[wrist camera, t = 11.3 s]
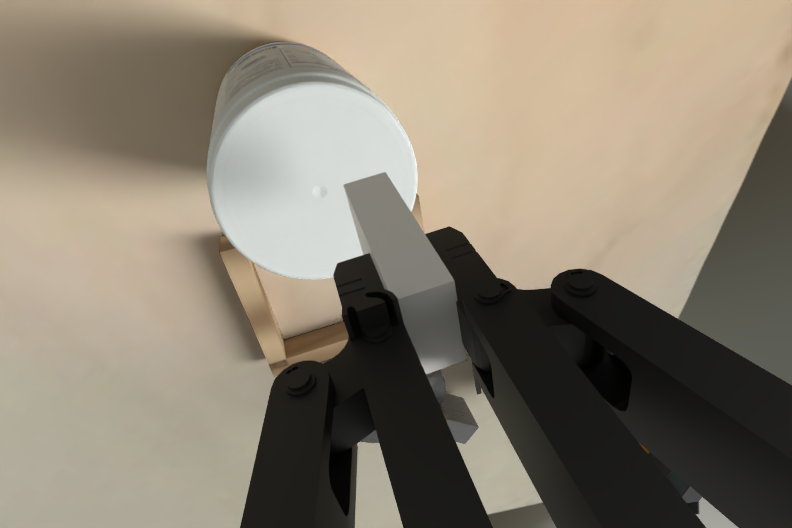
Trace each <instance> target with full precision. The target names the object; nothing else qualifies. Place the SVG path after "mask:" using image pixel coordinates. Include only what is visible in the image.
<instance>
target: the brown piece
mask: <svg viewBox="0 0 792 528" xmlns="http://www.w3.org/2000/svg"><path fill="white" fill-rule="evenodd" d="M411 213H412V214H413V216H414V218H415V219H416V221H417V222H418V224H419V225H420V227H421V229H422V230H423V232H424V227H423V221H422V215H421V208H420V202H419V196H418V195H417V194H416V198H415V203H414V206H413V209H412V212H411ZM219 253H220V255H221V257H222V260H223V262H224V264H225V266H226V269H227V271H228V273H229V275H230V278H231V280H232V282H233V285H234V287H235V289H236V291H237V294H238V296H239V298H240V300H241V303H242V305H243V307H244V309H245V312H246V314H247V316H248V319H249V321H250V323H251V325H252V328H253V330H254V332H255V334H256V337H257V339H258V341H259V344H260V346H261V348H262V350H263V353H264V355H265V357H266V359H267V362H268V364H269V366H270V368H271V371H272V373H273V375H274V377H275V376H278V375H279V374H280V373H281V372H282V371H283V370H284V369H285V368H287V367H289V366H290V365H292V364H294V363H297V362H301V361H309V360H314V361H317V362H321V361H325V360H328V359H331V358H334V357H335V356H336V355H338V354H339V353H340V352H341V350H342V349H343V348H344V347H345V345H346V343H347V341H348V337H349V335H348V332H347V329H346V327H345V324H344V321H343V322H340V323H337V324H334V325H331V326H327V327H324V328H321V329H318V330H315V331H311V332H308V333H305V334H302V335H299V336H296V337H292V338H289V339H286V340H284V339H283V337H282V334H281V332H280V329H279V327H278V324H277V322H276V319H275V317H274V314H273V312H272V309H271V307H270V304H269V302H268V299H267V297H266V294H265V292H264V289H263V287H262V284H261V282H260V279H259V277H258V274H257V272H256V269H255V267H254V264H253V262H251V261H250V260H249V259H247V258H246V257H244V256H243V255H242V254H241V253H240V252H239V251H238V250H237V249H236V248H235V247H234V246H233V245H232V244H231V243H230V241H229V240H228V239H227V237H226V236H221V237H220V252H219Z"/></svg>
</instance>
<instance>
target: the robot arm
mask: <svg viewBox="0 0 792 528" xmlns="http://www.w3.org/2000/svg"><path fill="white" fill-rule="evenodd" d="M343 186H344V189H345V193H346V196H347V200H348V203H349V207H350V210H351V214H352V217H353V221H354V224H355V228H356V231H357V235H358V238H359V242H360V245H361V249H362V252H363V254H364V255H362V256H358V257H355V258H352V259H349V260H346V261H343V262H340V263H337V265H336V268H335V271H334V274H333V276H334V280H335V283H336V287H337V290H338V294H339V298H340V301H341V305H342V318H343V321H344V324H345V327H346V329H347V332H348V335H349V337H348V341H347V343H346V345H345V347H344V348H343V349H342V350H341V352H340V353H339V354H338V355H336V356H335V357H334V358H332V359H331V360H329V361H328V362H326V363H325V364H322V363H319V362H317V361H314V360H309V361H301V362H297V363H294V364H292V365H290V366H289V367H287V368H285V369H284V370H283V371H282V372H281V373H280V374H279V375H278V376H277V377H276V378H275V380H274V383H273V385H272V387H271V392H270V396H269V400H268V405H267V409H266V414H265V418H264V423H263V427H262V432H261V436H260V441H259V445H258V450H257V454H256V459H255V463H254V468H253V472H252V477H251V481H250V486H249V490H248V495H247V499H246V504H245V508H244V513H243V517H242V522H241V526H240V528H355V502H356V476H357V450H358V447H357V443H358V442H360V441H361V440H362V439H364V438H365V437H367V436H368V435H369V434H371V433H372V432H373V431H375V430H376V432H377V436H378V439H379V443H380V446H381V450H382V454H383V457H384V461H385V464H386V468H387V471H388V475H389V478H390V482H391V485H392V489H393V492H394V496H395V499H396V503H397V506H398V510H399V514H400V517H401V521H402V524H403V528H493V527H492V525H491V523H490V520H489V518H488V516H487V513H486V511H485V509H484V506H483V504H482V502H481V500H480V497H479V495H478V493H477V490H476V488H475V486H474V483H473V481H472V479H471V477H470V474H469V472H468V470H467V467H466V465H465V463H464V460H463V458H462V456H461V454H460V451H459V449H458V447H457V444H456V442H455V440H454V438H453V435H452V433H451V431H450V428H449V426H448V424H447V421H446V419H445V417H444V415H443V412H442V410H441V408H440V405H439V403H438V401H437V398H436V396H435V394H434V392H433V389H432V387H431V385H430V382H429V380H428V378H427V376H426V374H429V373H432V372H434V371H437V370H440V369H443V368H446V367H449V366H452V365H455V364H457V363H460V362H463V361H466V360H467V358H466V352H465V348H466V350H467V352H468V354H469V356H470V357H471V359H472V366H473V372H474V379H475V386H476V391H477V395H478V394H481V388H482V390H483V392H484V394H485V395H486V397H487V399H488V401H489V403H490V405H491V407H492V408H493V410H494V412H495V414H496V416H497V418H498V420H499V421H500V423H501V425H502V427H503V429H504V431H505V433H506V434H507V436H508V438H509V440H510V442H511V444H512V446H513V447H514V449H515V451H516V453H517V455H518V457H519V459H520V460H521V462H522V464H523V466H524V468H525V470H526V472H527V474H528V475H529V477H530V479H531V481H532V483H533V485H534V487H535V488H536V490H537V492H538V494H539V496H540V498H541V500H542V501H543V503H544V505H545V507H546V508H547V511H548V513H549V514H550V516H551V518H552V520H553V522H554V524H555V526H556V527H557V528H706V527H705V526H704V524H703V523H702V522H701V521H700V519H699V518H698V517H697V516H696V514H695V513H694V512H693V511H692V509H691V508H690V507H689V506H688V504H687V503H686V502H685V500H684V499H683V498H682V497H681V495H680V494H679V493H678V492H677V490H676V489H675V488H674V487H673V485H672V484H671V483H670V482H669V480H668V479H667V478H666V477H665V475H664V474H663V473H662V471H661V470H660V469H659V468H658V466H657V465H656V464H655V463H654V461H653V460H652V459H651V458H650V456H649V455H648V454H647V453H646V451H645V450H644V449H643V447H645V448H646V449H647V450H648V451H649V452H650V453H652V454H653V455H654V456H655V457H656V458H657V459H659V460H660V461H661V462H662V463H663V464H664V465H666V466H667V467H668V468H669V469H670V470H672V471H673V472H674V473H675V474H676V475H677V476H679V477H680V478H681V479H682V480H683V481H684V482H686V483H687V484H688V485H689V486H690V487H692V488H693V489H694V490H695V491H696V492H697V493H699V494H700V495H701V496H702V497H703V498H705V499H706V500H707V501H708V502H709V503H710V504H712V505H713V506H714V507H715V508H716V509H717V510H719V511H720V512H721V513H722V514H723V515H724V516H726V517H727V518H728V519H729V520H730V521H732V522H733V523H734V524H735V525H736V526H737V527H739V528H792V385H790V384H788V383H786V382H785V381H783V380H782V379H780V378H778V377H776V376H775V375H773V374H771V373H770V372H768V371H766V370H764V369H763V368H761V367H759V366H758V365H756V364H754V363H752V362H751V361H749V360H747V359H746V358H744V357H742V356H740V355H739V354H737V353H735V352H734V351H732V350H730V349H728V348H726V347H725V346H723V345H722V344H720V343H718V342H716V341H715V340H713V339H711V338H710V337H708V336H706V335H704V334H703V333H701V332H699V331H698V330H696V329H694V328H692V327H691V326H689V325H687V324H686V323H684V322H682V321H680V320H679V319H677V318H675V317H674V316H672V315H670V314H668V313H667V312H665V311H663V310H662V309H660V308H658V307H657V306H655V305H653V304H651V303H650V302H648V301H646V300H645V299H643V298H641V297H639V296H638V295H636V294H634V293H633V292H631V291H629V290H627V289H626V288H624V287H622V286H621V285H619V284H617V283H615V282H614V281H612V280H610V279H609V278H607V277H605V276H603V275H602V274H599V273H597V272H594V271H592V270H586V269H573V270H567V271H565V272H562V273H560V274H558V275H557V276H556V277H555V278H554V279H553V281H552V284H551V288H548V289H537V290H520V289H516V287H515V286H514V285H512V284H511V283H510V282H509V281H506V280H503V279H500V278H497V277H496V276H495V275H494V274H493V272H492V271H491V270H490V268H489V267H488V266H487V264H486V263H485V262H484V260H483V259H482V258H481V257H480V255H479V254H478V253H477V252H476V251H475V249H474V247H473V246H472V245H471V244H470V242H469V241H468V240H467V238H466V237H465V236H464V234H463V233H462V232H460V231H458V230H456V229H454V228H452V227H446V228H443V229H440V230H437V231H434V232H431V233H427V234H425V233H424V232H423V230H422V229H421V227H420V225H419V224H418V222H417V221H416V219H415V218H414V216H413V214H412V213H411V211H410V210H409V208H408V207H407V205H406V203H405V202H404V200H403V199H402V197H401V195H400V194H399V192H398V191H397V189H396V188H395V186H394V184H393V183H392V181H391V180H390V178H389V177H388V175H387V173H386V172H383V173H380V174H377V175H373V176H370V177H367V178H363V179H360V180H357V181H353V182H350V183H347V184H343ZM639 443H640V444H641V445H642V446H643V447H642V446H641V445H640V444H639Z"/></svg>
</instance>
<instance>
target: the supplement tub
mask: <svg viewBox="0 0 792 528" xmlns="http://www.w3.org/2000/svg"><path fill="white" fill-rule="evenodd" d="M383 172H386V173H387V175H388V177H389V178H390V180H391V181H392V183H393V184H394V186H395V188H396V189H397V191H398V192H399V194H400V195H401V197H402V199H403V200H404V202H405V203H406V205H407V207H408V208H409V210H410V211H411V212H412V209H413V206H414V203H415V198H416V193H417V179H418V175H417V163H416V159H415V155H414V151H413V148H412V145H411V143H410V140H409V138H408V136H407V134H406V132H405V130H404V129H403V127H402V126H401V124H400V122H399V121H398V119H397V118H396V116H395V115H394V113H393V112H392V111H391V110H390V108H389V107H388V106H387V105H386V104H385V103H384V102H383V101H382V100H381V99H380V98H379V97H378V96H377V95H376V94H374V93H373V92H372V91H371V90H370V89H369V88H367V87H366V86H365V85H364V84H363V83H361V82H360V81H359V80H358V79H356V78H355V77H354V76H353V75H351V74H350V73H349V72H348V71H346V70H345V69H344V68H343V67H341V66H340V65H339V64H337V63H336V62H335V61H334V60H332V59H331V58H330V57H328V56H327V55H326V54H324V53H322V52H320V51H319V50H317V49H314V48H312V47H310V46H307V45H303V44H299V43H293V42H275V43H269V44H265V45H262V46H259V47H257V48H255V49H253V50H251V51H249V52H247V53H246V54H244V55H243V56H242V57H241V58H239V59H238V60H237V61H236V62H235V63H234V64H233V65H232V67H231V68H230V69H229V71H228V72H227V73H226V75H225V77H224V78H223V81H222V83H221V86H220V89H219V92H218V96H217V101H216V106H215V113H214V119H213V125H212V131H211V137H210V143H209V149H208V156H207V171H206V175H207V185H208V191H209V195H210V201H211V206H212V209H213V212H214V215H215V218H216V220H217V222H218V224H219V226H220V228H221V230H222V232H223V233H224V235H225V236H226V237H227V239H228V240H229V241H230V243H231V244H232V245H233V246H234V247H235V248H236V249H237V250H238V251H239V252H240V253H241V254H242V255H243V256H244V257H246V258H247V259H249V260H250V261H251V262H253V263H254V264H256V265H258V266H259V267H261V268H263V269H265V270H268V271H270V272H273V273H275V274H278V275H282V276H285V277H290V278H296V279H308V280H312V279H325V278H331V277H334V276H333V274H334V271H335V268H336V265H337V263H340V262H343V261H346V260H349V259H352V258H355V257H358V256H362V255H364V254H363V252H362V249H361V245H360V242H359V238H358V235H357V231H356V228H355V224H354V221H353V217H352V214H351V210H350V207H349V203H348V200H347V196H346V193H345V189H344V186H343V184H347V183H350V182H353V181H357V180H360V179H363V178H367V177H370V176H373V175H377V174H380V173H383Z"/></svg>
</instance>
